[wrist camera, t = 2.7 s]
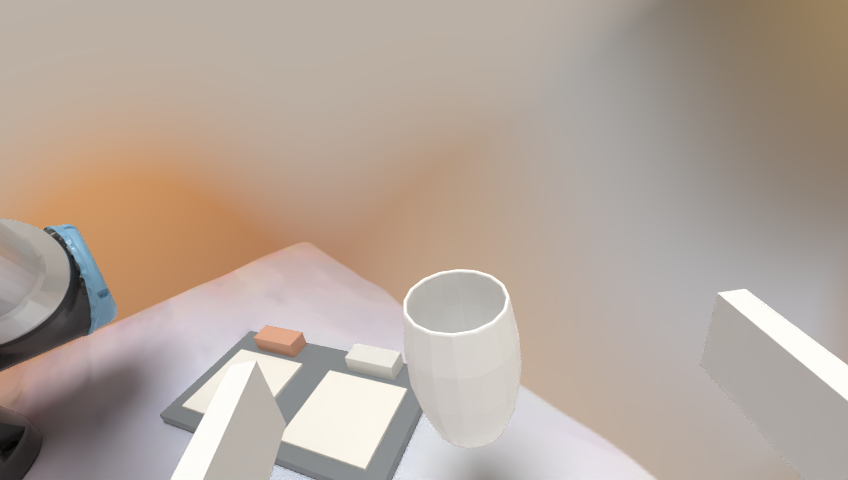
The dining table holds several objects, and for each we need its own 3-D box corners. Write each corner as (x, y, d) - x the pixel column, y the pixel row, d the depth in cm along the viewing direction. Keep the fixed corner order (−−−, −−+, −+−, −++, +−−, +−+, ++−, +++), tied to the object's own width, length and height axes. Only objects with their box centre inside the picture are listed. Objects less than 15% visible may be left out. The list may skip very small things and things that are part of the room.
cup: (422, 521, 32) (369, 323, 22) (460, 444, 37) (430, 257, 27) (509, 569, 28) (491, 358, 19) (537, 477, 34) (534, 275, 24)
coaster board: (164, 421, 45) (151, 402, 43) (253, 337, 56) (245, 319, 54) (380, 503, 34) (372, 481, 32) (437, 378, 45) (434, 357, 43)
